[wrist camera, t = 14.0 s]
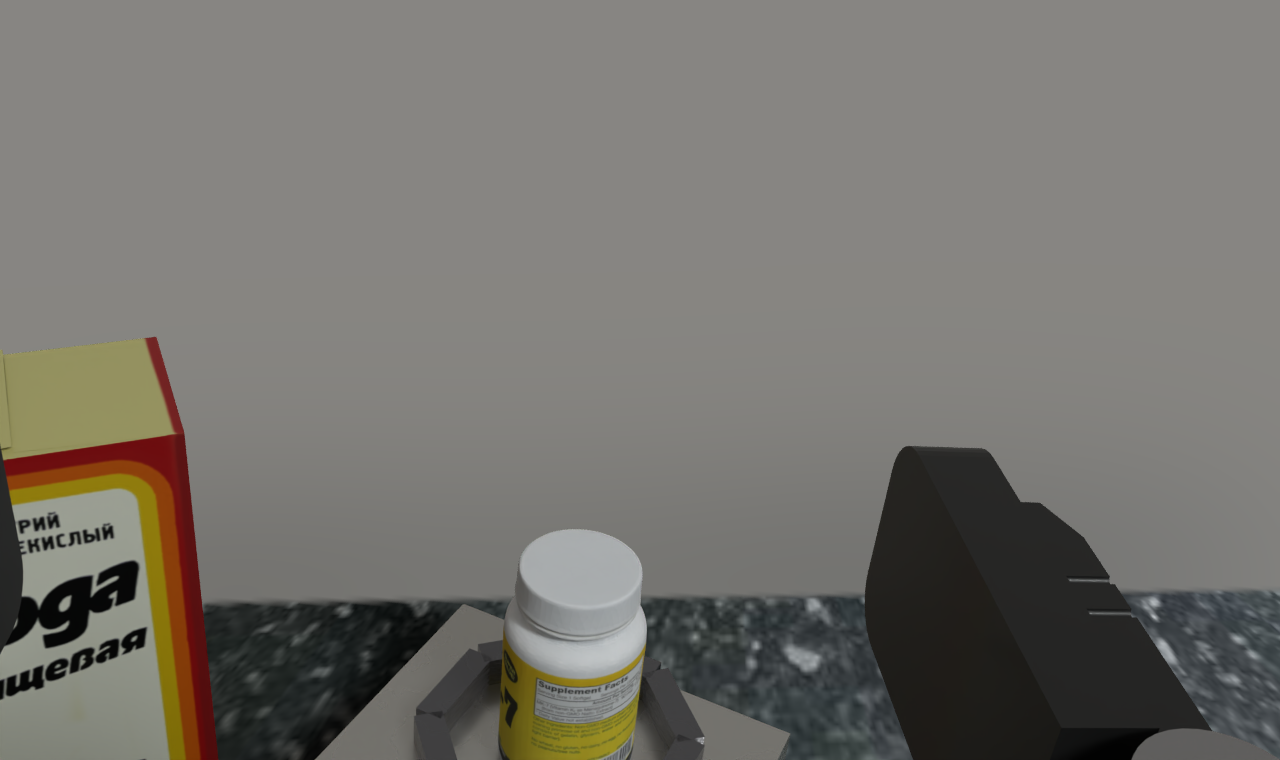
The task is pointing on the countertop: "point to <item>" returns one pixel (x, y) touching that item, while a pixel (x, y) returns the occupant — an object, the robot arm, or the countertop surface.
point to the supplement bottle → (572, 650)
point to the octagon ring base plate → (470, 706)
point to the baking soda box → (101, 562)
